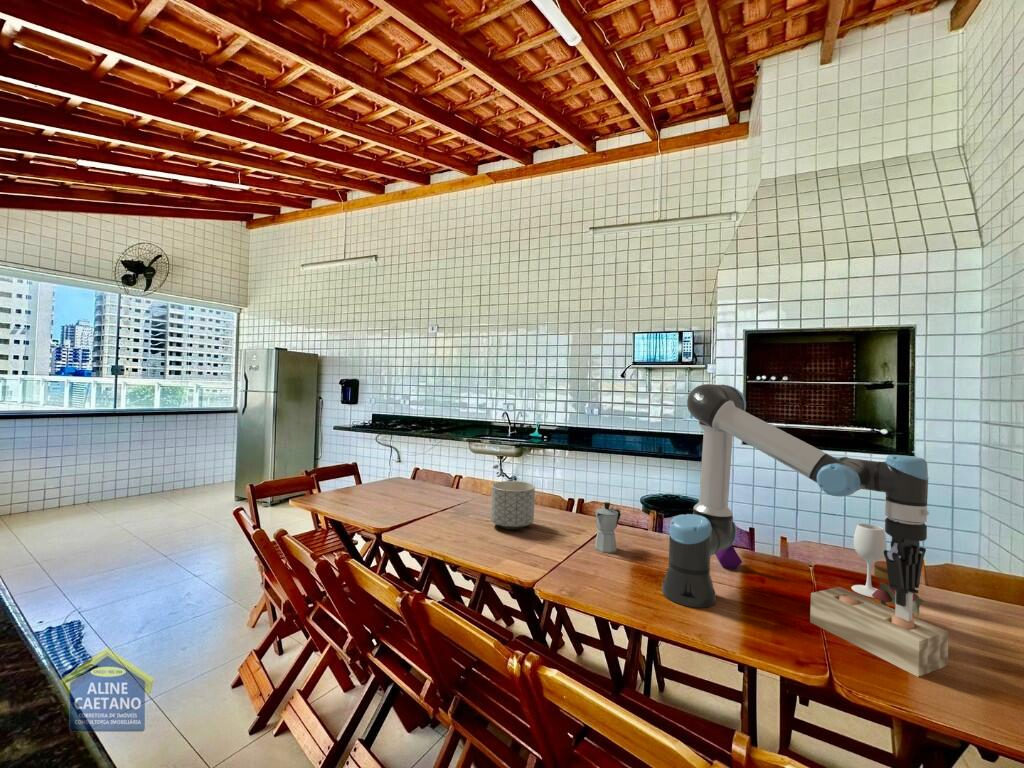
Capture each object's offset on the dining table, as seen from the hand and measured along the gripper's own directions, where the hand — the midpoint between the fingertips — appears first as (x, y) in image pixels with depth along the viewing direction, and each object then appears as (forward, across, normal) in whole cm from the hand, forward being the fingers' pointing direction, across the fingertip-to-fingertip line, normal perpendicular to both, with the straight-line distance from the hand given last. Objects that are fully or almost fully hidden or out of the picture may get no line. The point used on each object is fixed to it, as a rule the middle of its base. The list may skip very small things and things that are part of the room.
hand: (903, 618), depth 106 cm
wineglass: (+9, +31, +24) cm, 40 cm away
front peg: (+8, 0, 0) cm, 8 cm away
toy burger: (+9, +18, +11) cm, 23 cm away
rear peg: (+9, 0, +12) cm, 15 cm away
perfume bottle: (+9, +4, +54) cm, 55 cm away
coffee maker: (+9, -28, +82) cm, 87 cm away
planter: (+9, -54, +117) cm, 129 cm away
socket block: (+9, 0, +6) cm, 11 cm away
